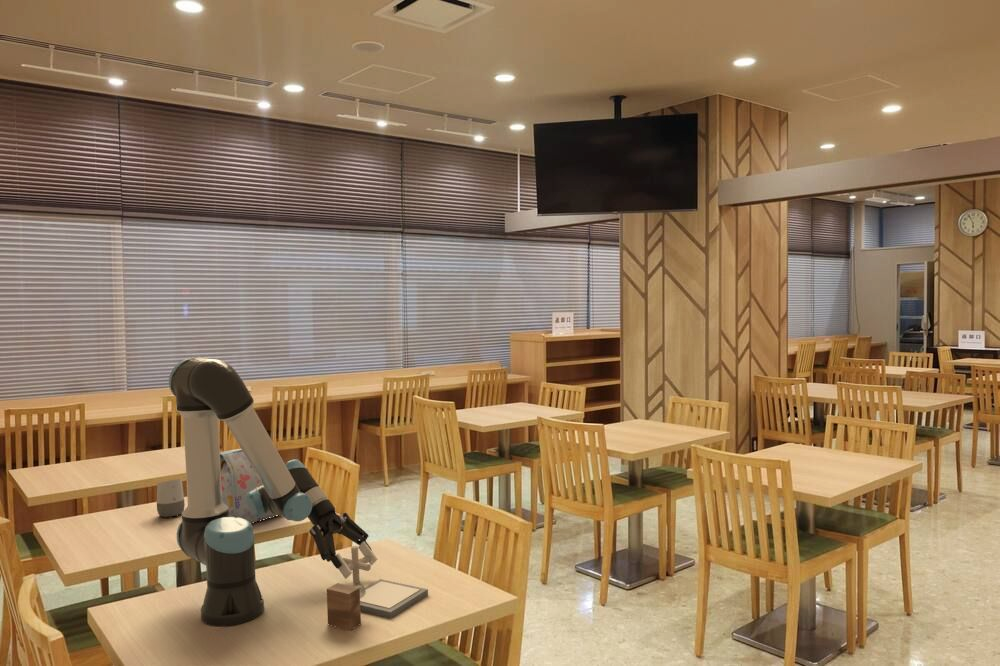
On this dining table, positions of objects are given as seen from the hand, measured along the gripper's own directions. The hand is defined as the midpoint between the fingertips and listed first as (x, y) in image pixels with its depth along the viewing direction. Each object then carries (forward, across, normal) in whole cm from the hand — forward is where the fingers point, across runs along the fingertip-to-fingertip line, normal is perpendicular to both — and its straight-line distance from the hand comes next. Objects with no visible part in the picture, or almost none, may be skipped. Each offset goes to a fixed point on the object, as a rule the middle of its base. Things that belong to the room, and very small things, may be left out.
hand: (362, 568), depth 210 cm
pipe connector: (+1, 0, -5) cm, 5 cm away
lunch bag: (-51, -29, -58) cm, 82 cm away
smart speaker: (-73, -20, -80) cm, 110 cm away
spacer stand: (+12, +11, +6) cm, 18 cm away
